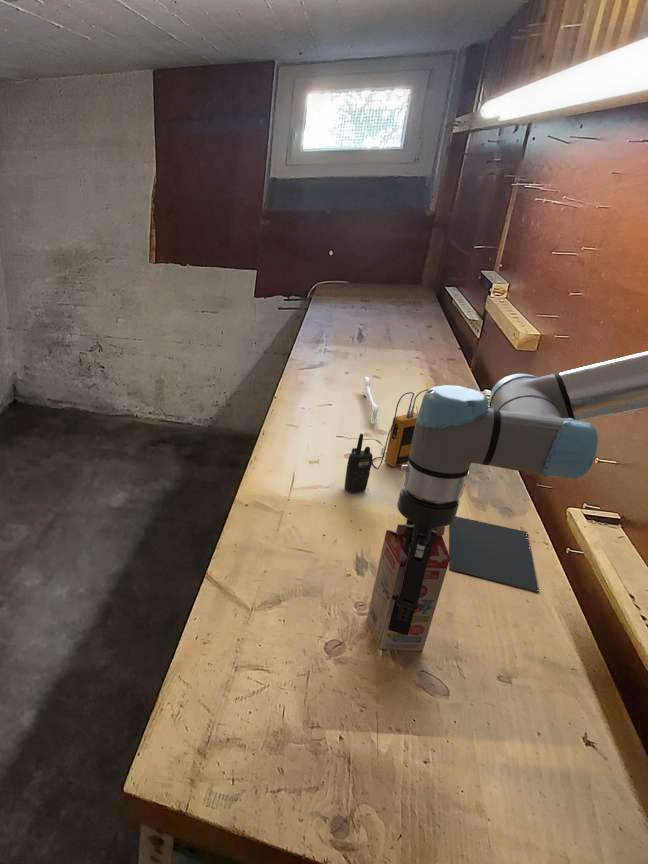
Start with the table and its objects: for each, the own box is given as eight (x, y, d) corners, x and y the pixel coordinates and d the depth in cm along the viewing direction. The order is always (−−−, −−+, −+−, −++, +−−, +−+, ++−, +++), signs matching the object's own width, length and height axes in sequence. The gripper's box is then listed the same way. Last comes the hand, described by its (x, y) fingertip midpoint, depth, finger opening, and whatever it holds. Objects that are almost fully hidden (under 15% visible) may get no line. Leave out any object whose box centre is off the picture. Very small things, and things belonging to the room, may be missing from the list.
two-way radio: (348, 494, 131) (358, 437, 124) (337, 485, 135) (347, 429, 128) (369, 491, 132) (380, 434, 125) (358, 481, 136) (368, 426, 129)
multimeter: (396, 443, 153) (411, 374, 144) (425, 460, 144) (443, 388, 135) (351, 453, 149) (364, 383, 140) (379, 471, 140) (394, 397, 131)
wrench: (359, 391, 186) (362, 374, 183) (366, 391, 185) (369, 374, 183) (370, 427, 162) (374, 408, 159) (378, 427, 161) (382, 409, 159)
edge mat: (527, 532, 116) (527, 531, 116) (538, 592, 100) (539, 592, 100) (449, 515, 122) (449, 514, 122) (449, 570, 107) (449, 569, 107)
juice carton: (366, 618, 96) (390, 512, 87) (407, 620, 96) (436, 513, 86) (379, 649, 90) (406, 538, 81) (422, 651, 90) (455, 539, 80)
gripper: (406, 451, 91) (382, 558, 101) (395, 527, 73) (367, 649, 83) (459, 461, 88) (429, 571, 98) (461, 543, 70) (424, 668, 80)
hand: (400, 607), depth 90 cm, fingers open, 11 cm apart
